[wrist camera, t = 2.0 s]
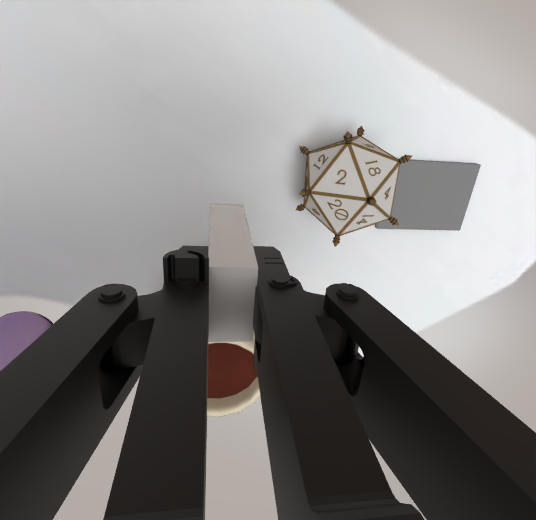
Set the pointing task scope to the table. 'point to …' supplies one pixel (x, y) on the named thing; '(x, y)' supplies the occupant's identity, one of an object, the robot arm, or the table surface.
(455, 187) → the grey rubber mat
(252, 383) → the character mug
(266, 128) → the table surface
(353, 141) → the game die
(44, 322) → the beverage can
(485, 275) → the table surface
